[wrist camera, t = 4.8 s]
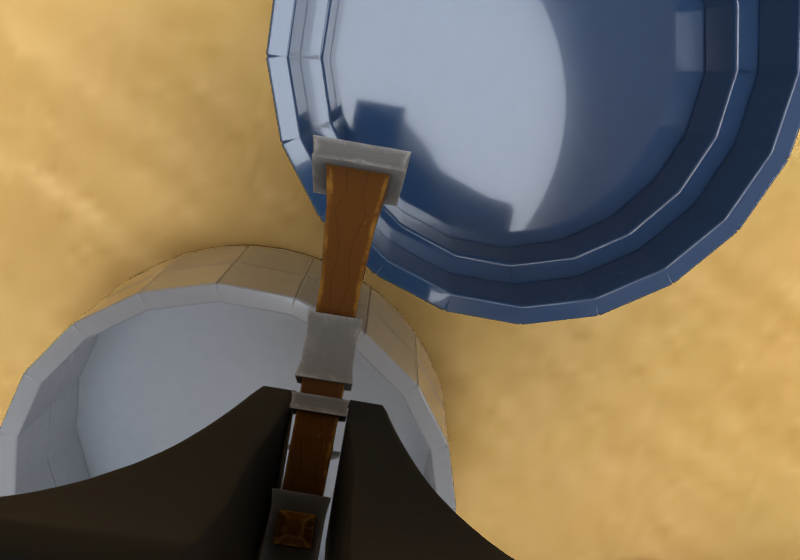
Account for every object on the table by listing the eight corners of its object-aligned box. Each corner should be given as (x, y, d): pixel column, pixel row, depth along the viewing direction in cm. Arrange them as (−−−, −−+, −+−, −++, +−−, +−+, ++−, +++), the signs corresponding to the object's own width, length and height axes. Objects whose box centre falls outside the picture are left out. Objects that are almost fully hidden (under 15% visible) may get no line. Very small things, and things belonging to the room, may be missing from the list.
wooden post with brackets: (249, 580, 15) (215, 620, 10) (316, 220, 17) (312, 128, 13) (336, 592, 15) (339, 637, 10) (391, 232, 17) (412, 146, 13)
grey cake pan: (482, 285, 21) (500, 333, 17) (405, 610, 25) (406, 711, 21) (76, 210, 21) (2, 244, 17) (56, 555, 24) (-10, 648, 20)
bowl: (801, -132, 18) (910, -186, 14) (662, 308, 21) (719, 361, 18) (333, -236, 17) (314, -322, 13) (267, 235, 21) (236, 274, 17)
